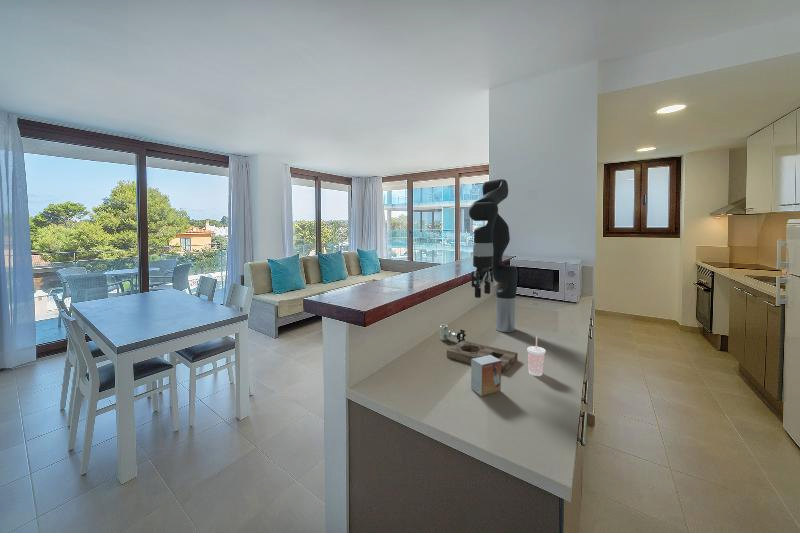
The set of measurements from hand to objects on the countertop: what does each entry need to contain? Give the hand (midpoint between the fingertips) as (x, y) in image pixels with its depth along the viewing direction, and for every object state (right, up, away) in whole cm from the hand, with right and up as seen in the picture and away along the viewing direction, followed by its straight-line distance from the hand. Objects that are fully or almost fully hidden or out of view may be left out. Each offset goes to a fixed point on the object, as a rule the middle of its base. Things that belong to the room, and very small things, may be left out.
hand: (482, 295), depth 125 cm
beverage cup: (+17, -27, -10) cm, 34 cm away
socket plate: (0, -26, +3) cm, 26 cm away
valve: (-9, -24, +24) cm, 35 cm away
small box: (-4, -29, -21) cm, 36 cm away
